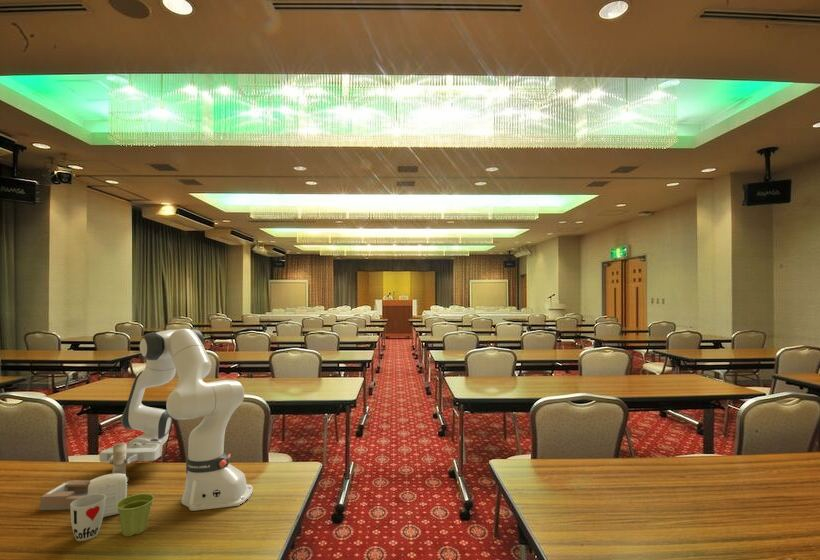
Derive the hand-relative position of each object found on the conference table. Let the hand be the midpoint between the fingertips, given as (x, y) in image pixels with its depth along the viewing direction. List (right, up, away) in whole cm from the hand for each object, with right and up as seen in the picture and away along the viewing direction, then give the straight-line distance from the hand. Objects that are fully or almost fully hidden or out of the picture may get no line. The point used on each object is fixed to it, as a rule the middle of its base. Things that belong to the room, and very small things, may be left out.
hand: (118, 461), depth 155 cm
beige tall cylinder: (0, -8, +1) cm, 8 cm away
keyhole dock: (-4, -8, -13) cm, 15 cm away
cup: (+14, -7, -34) cm, 37 cm away
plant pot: (+26, -7, -31) cm, 41 cm away
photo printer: (+11, -8, -22) cm, 26 cm away
